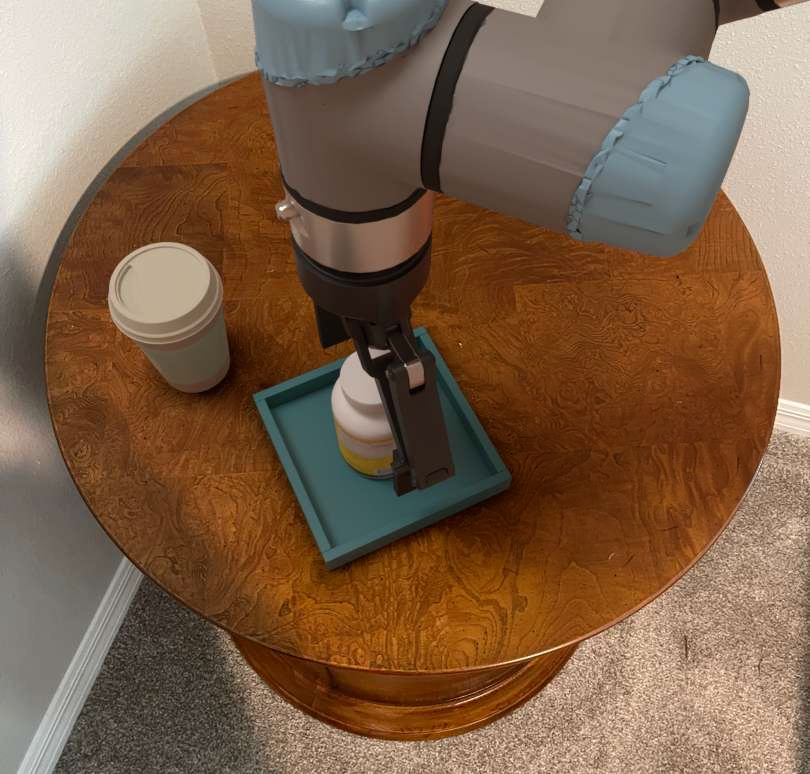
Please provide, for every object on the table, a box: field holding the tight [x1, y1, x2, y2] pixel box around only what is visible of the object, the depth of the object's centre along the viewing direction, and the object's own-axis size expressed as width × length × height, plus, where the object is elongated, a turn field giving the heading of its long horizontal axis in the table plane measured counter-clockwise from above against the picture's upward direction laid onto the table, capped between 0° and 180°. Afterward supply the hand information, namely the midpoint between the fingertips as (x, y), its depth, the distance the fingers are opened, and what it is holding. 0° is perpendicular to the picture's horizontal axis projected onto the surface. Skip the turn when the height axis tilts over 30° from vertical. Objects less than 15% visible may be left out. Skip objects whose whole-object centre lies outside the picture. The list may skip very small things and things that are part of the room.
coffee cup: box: [107, 241, 231, 394], centre depth 66 cm, size 8×8×12 cm
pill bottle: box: [331, 348, 397, 479], centre depth 62 cm, size 6×6×12 cm
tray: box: [252, 325, 512, 572], centre depth 66 cm, size 16×16×2 cm
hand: (373, 409), depth 62 cm, fingers open, 13 cm apart
